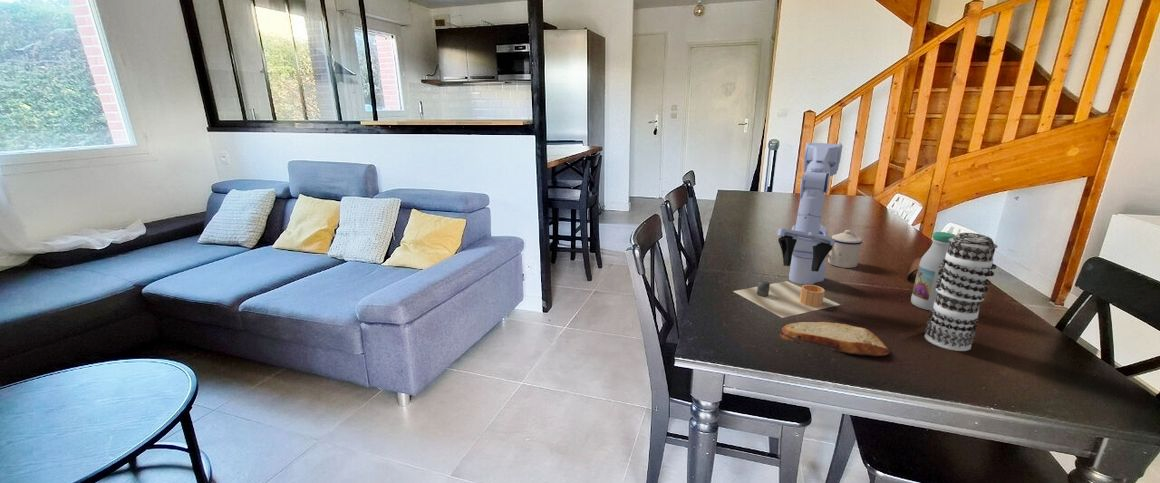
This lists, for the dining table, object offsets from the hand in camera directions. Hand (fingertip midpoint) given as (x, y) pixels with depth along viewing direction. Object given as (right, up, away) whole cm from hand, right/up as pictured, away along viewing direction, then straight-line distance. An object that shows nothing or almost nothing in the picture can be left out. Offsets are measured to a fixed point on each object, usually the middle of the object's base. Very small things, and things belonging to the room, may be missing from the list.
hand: (800, 268), depth 119 cm
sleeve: (+4, -9, +3) cm, 10 cm away
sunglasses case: (+50, -4, +24) cm, 56 cm away
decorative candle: (+26, -16, -15) cm, 34 cm away
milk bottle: (+35, -10, +3) cm, 37 cm away
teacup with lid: (+29, -1, +35) cm, 46 cm away
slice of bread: (0, -16, -15) cm, 22 cm away
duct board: (-2, -9, +6) cm, 11 cm away
